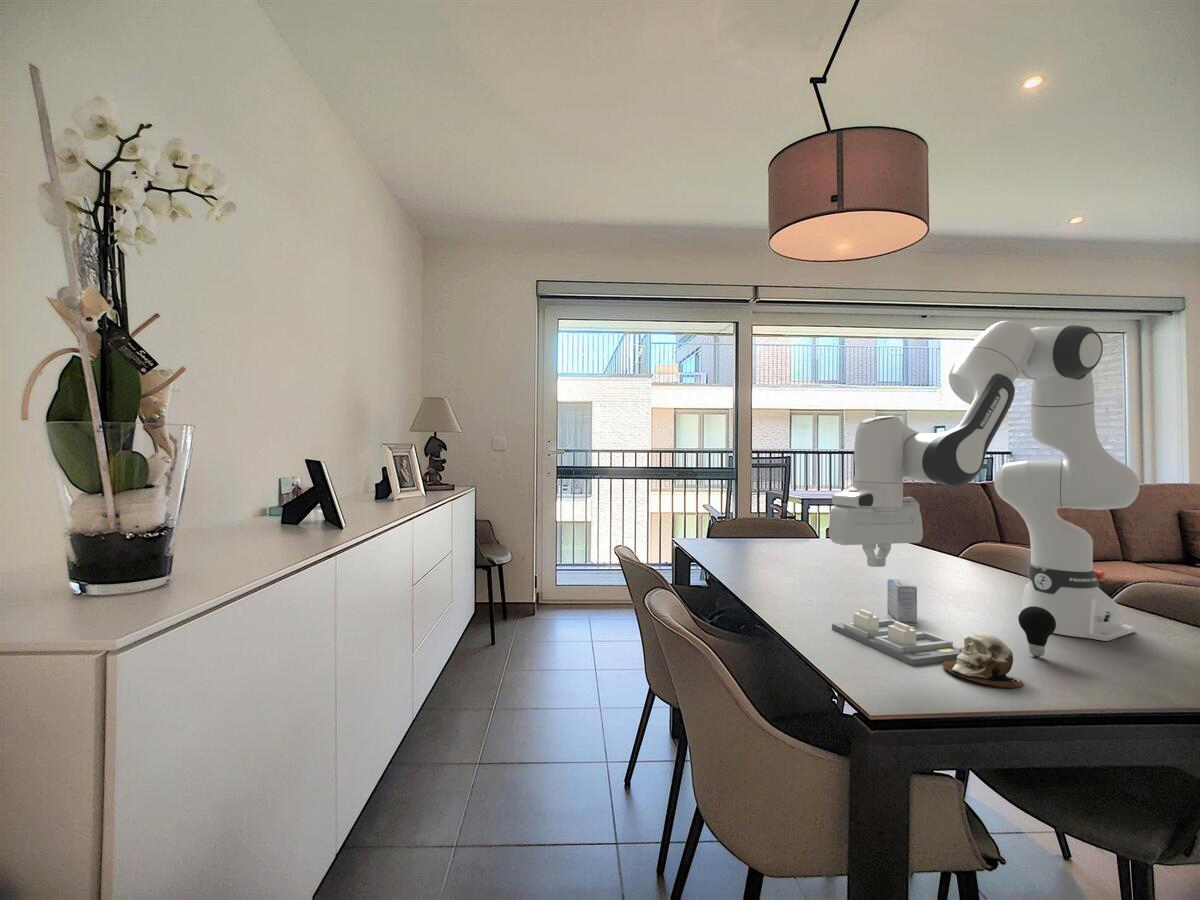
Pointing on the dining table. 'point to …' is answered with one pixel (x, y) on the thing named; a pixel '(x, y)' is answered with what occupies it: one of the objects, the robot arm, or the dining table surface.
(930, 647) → the switch board
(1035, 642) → the light bulb
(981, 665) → the skull
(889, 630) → the tab
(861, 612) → the tab
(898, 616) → the medicine box
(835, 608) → the dining table surface
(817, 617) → the dining table surface
